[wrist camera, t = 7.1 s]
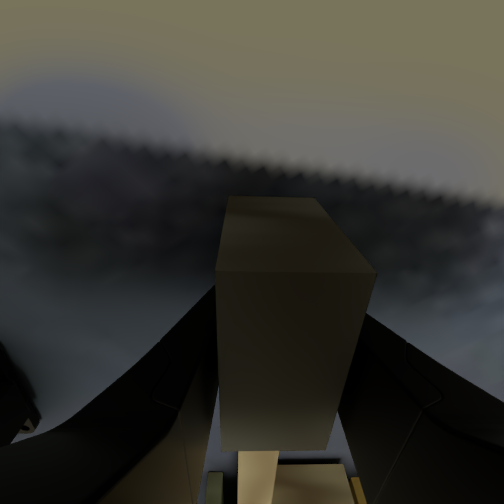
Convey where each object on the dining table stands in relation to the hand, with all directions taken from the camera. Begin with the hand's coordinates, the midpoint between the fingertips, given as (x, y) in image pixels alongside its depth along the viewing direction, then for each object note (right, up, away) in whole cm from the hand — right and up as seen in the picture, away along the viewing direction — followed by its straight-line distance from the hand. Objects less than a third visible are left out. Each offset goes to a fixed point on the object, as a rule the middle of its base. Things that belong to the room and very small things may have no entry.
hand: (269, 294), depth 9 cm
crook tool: (+2, -5, +5) cm, 7 cm away
